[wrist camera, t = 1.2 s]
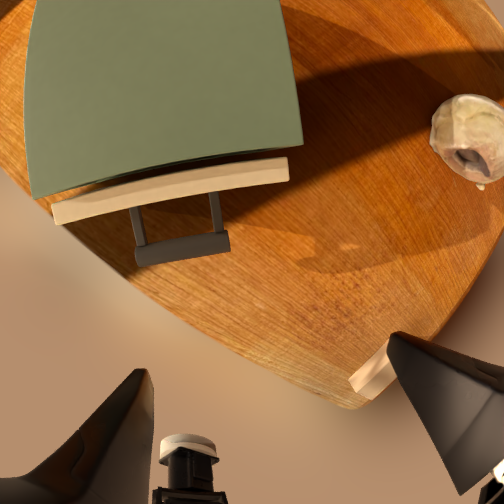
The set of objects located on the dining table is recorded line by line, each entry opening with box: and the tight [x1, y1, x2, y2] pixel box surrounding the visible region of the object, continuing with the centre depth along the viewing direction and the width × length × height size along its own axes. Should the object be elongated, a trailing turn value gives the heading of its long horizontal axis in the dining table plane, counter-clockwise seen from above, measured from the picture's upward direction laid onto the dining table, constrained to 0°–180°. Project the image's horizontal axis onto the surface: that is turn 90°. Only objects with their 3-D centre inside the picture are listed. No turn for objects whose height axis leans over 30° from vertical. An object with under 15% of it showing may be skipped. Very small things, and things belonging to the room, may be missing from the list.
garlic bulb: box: [430, 94, 504, 190], centre depth 17 cm, size 9×8×10 cm
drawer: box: [52, 157, 290, 267], centre depth 14 cm, size 18×12×7 cm
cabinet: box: [24, 0, 304, 200], centre depth 13 cm, size 15×14×9 cm
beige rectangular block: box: [348, 339, 397, 400], centre depth 28 cm, size 7×4×2 cm, turn 139°
